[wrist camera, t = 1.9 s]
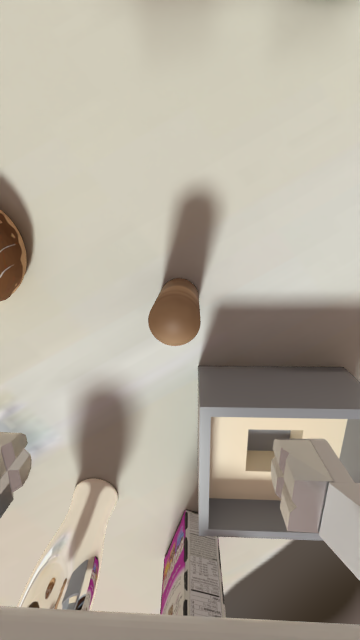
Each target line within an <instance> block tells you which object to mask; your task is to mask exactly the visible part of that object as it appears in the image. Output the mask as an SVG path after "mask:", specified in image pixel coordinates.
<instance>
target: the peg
mask: <svg viewBox="0 0 360 640" xmlns="http://www.w3.org/2000/svg"><path fill="white" fill-rule="evenodd" d="M148 323H149V328H150V330H151V332H152V334H153V335H154V337H155V338H156V339H158V340H159V341H160V342H162V343H164V344H167V345H171V346H179V345H183V344H186V343H188V342H189V341H191V340H192V339H193V338H194V337H195V336H196V335H197V333H198V331H199V328H200V309H199V296H198V291H197V289H196V287H195V286H194V284H193V283H191V282H190V281H188V280H186V279H182V278H176V279H172V280H170V281H168V282H167V283H166V284H165V285H164V286H163V288H162V290H161V292H160V294H159V296H158V297H157V299H156V301H155V303H154V305H153V307H152V309H151V311H150V314H149V318H148Z"/></svg>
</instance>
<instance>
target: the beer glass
mask: <svg viewBox="0 0 360 640" xmlns="http://www.w3.org/2000/svg"><path fill="white" fill-rule="evenodd" d="M117 501H118V494H117V492H116V490H115V488H114V487H113V486H112V485H111V484H110V483H108V482H106V481H104V480H101V479H97V478H90V479H85V480H83V481H81V482H80V483H79V484H78V485H77V486H76V488H75V490H74V493H73V497H72V501H71V505H70V508H69V510H68V512H67V515H66V517H65V519H64V521H63V522H62V524H61V526H60V527H59V529H58V530H57V532H56V533H55V535H54V536H53V538H52V540H51V541H50V543H49V544H48V546H47V547H46V549H45V550H44V552H43V554H42V556H41V557H40V559H39V561H38V562H37V564H36V566H35V568H34V570H33V572H32V574H31V576H30V578H29V580H28V582H27V584H26V586H25V588H24V591H23V593H22V595H21V597H20V600H19V602H18V605H17V607H26V608H46V609H66V610H86V611H91V609H92V606H93V602H94V598H95V594H96V590H97V586H98V581H99V575H100V570H101V562H102V555H103V547H104V539H105V533H106V528H107V524H108V521H109V519H110V516H111V514H112V512H113V510H114V508H115V506H116V504H117Z"/></svg>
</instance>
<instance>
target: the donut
mask: <svg viewBox="0 0 360 640" xmlns="http://www.w3.org/2000/svg"><path fill="white" fill-rule="evenodd" d="M26 266H27V259H26V250H25V246H24V242H23V239H22V237H21V235H20V233H19V231H18V229H17V228H16V226H15V225H14V223H13V222H12V221H11V220H10V218H9V217H8V216H7V215H6V214H5V213H3V212H2V211H1V210H0V301H2V300H6V299H7V298H8V297H10V296H11V294H12V293H14V292H15V291H16V289H17V288H18V287H19V286H20V284H21V282H22V280H23V278H24V275H25V271H26Z"/></svg>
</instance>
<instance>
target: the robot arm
mask: <svg viewBox="0 0 360 640" xmlns="http://www.w3.org/2000/svg"><path fill="white" fill-rule="evenodd" d="M27 443H28V442H27V439H26V435H24V434H22V433H8V432H0V518H1V517H2V515H3V514H4V512H5V511H6V509H7V508H8V506H9V505H10V503H11V502H12V500H13V492H14V491H16V490H17V489H19V488H20V487H22V486H23V484H24V483H25V481H26V479H27V478H28V475H29V472H30V469H31V456H30V454H29V453H28V452H27V451H26V450H25V449H24V448H25V447H26V445H27ZM273 451H274V454H275V457H274V458H273V459H272V460H271V478H272V483H273V487H274V491H275V494H276V495H277V496H278V497H279V498H280V499H281V503H280V510H281V513H282V516H283V519H284V522H285V525H286V528H287V531H295V532H309V533H319V536H320V537H321V538H322V539H323V540H324V541H325V542H326V543H327V544H328V546H329V547H330V548H331V549H332V550H333V551H334V552H335V554H336V555H337V556H338V557H339V558H340V559H341V560H342V561H343V562H344V564H345V565H346V566H347V567H348V568H349V569H350V570H351V571H352V572H353V574H354V575H355V576H356V577H357V578H358V579H359V580H360V483H355V482H354V481H353V479H352V478H351V476H350V475H349V473H348V472H347V470H346V469H345V467H344V466H343V464H342V463H341V461H340V460H339V458H338V457H337V455H336V454H335V452H334V451H333V449H332V447H331V446H330V444H329V443H328V441H327V440H325V439H280V438H275V440H274V442H273ZM0 640H360V625H355V624H354V625H353V624H336V623H316V622H298V621H278V620H259V619H239V618H221V617H202V616H182V615H163V614H144V613H125V612H105V611H86V610H66V609H46V608H26V607H7V606H0Z"/></svg>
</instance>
